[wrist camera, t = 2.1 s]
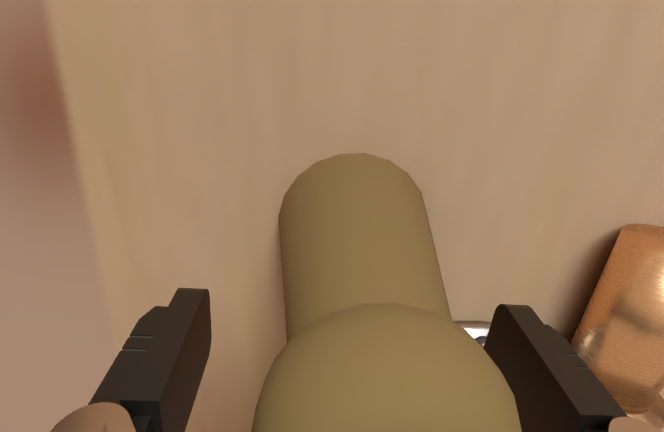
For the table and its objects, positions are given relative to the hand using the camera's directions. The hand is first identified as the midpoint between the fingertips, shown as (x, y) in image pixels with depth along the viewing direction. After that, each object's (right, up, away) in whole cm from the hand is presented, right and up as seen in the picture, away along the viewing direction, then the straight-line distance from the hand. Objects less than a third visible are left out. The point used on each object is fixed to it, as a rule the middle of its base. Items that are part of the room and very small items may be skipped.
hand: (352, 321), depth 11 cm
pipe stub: (+12, -1, +7) cm, 14 cm away
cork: (0, +3, +5) cm, 6 cm away
